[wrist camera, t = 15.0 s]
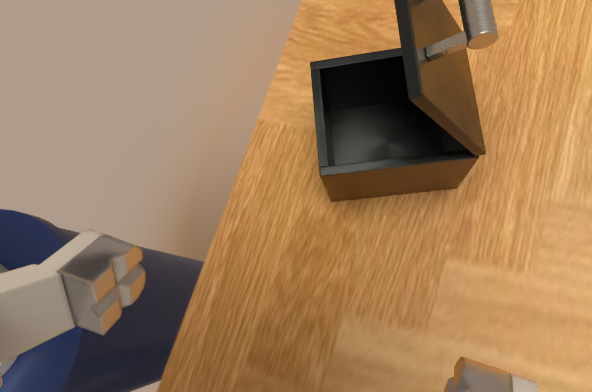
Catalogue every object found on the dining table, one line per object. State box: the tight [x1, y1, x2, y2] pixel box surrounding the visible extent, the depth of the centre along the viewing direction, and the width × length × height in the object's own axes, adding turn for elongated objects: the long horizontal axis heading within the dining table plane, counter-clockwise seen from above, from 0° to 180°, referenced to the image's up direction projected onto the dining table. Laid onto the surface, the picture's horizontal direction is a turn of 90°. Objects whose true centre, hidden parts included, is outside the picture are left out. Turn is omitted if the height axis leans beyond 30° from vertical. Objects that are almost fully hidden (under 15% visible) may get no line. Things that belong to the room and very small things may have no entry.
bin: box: [310, 48, 479, 202], centre depth 41 cm, size 13×11×10 cm
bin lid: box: [394, 0, 499, 156], centre depth 29 cm, size 13×11×5 cm
